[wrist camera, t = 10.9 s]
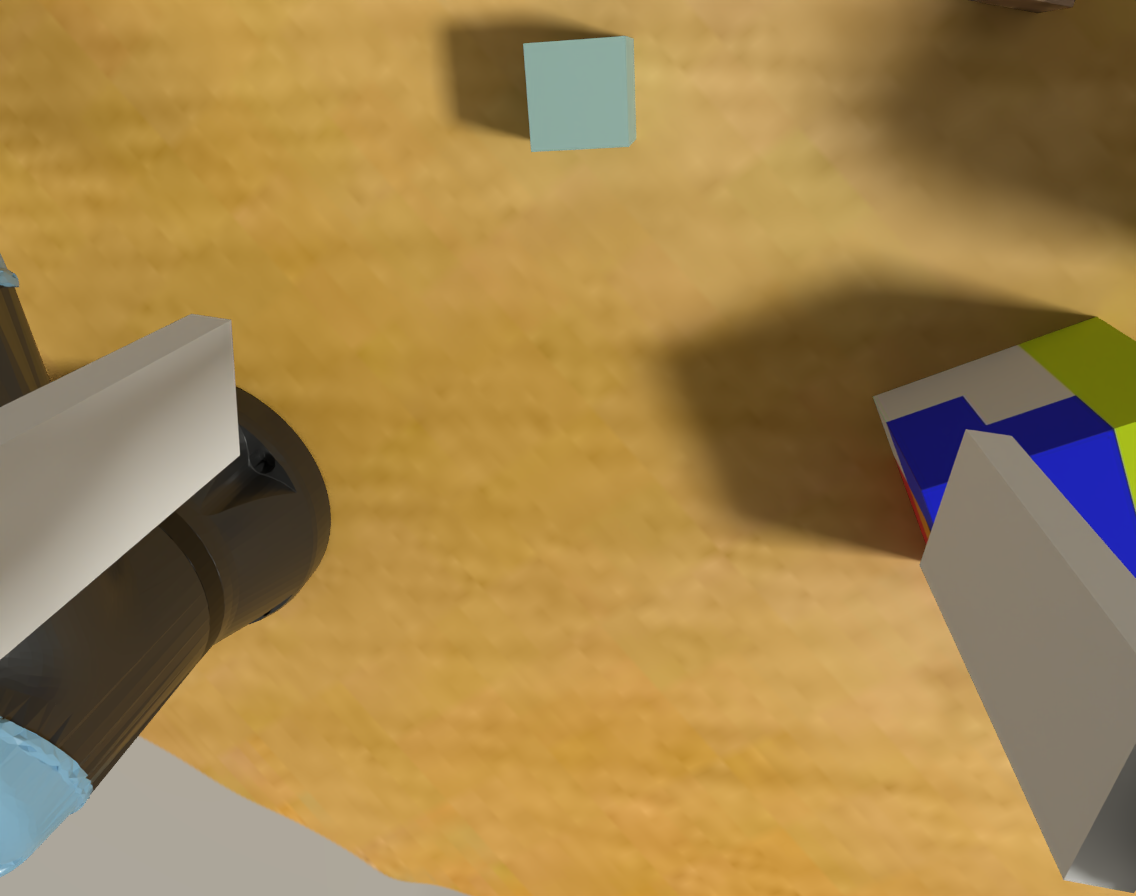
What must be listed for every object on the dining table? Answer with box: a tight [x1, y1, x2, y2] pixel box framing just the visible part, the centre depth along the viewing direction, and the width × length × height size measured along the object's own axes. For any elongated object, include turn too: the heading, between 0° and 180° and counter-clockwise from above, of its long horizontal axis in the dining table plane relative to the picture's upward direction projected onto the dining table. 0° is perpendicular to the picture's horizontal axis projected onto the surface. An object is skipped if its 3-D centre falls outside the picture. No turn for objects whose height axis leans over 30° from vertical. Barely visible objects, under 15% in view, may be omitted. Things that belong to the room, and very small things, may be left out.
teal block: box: [523, 36, 636, 152], centre depth 35 cm, size 4×4×4 cm
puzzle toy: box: [873, 317, 1136, 578], centre depth 36 cm, size 10×10×10 cm
